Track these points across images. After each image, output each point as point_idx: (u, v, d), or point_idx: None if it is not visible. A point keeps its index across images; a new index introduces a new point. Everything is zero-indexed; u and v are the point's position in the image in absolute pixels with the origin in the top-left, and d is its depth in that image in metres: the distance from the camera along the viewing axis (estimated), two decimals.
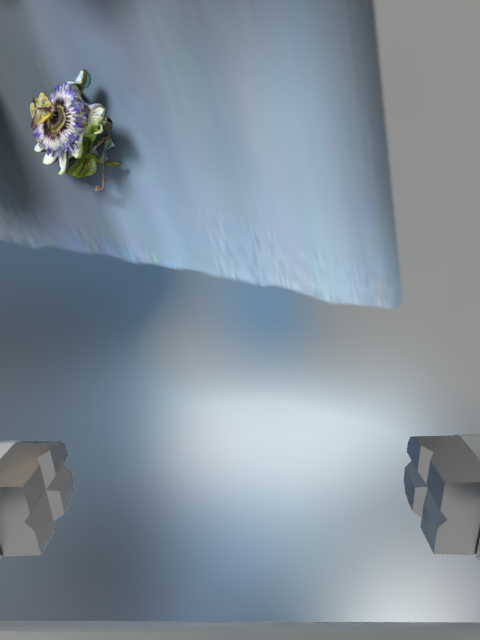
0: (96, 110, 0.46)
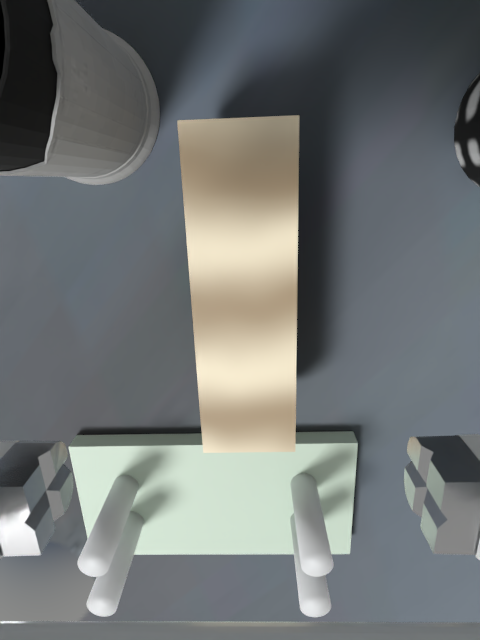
0: None
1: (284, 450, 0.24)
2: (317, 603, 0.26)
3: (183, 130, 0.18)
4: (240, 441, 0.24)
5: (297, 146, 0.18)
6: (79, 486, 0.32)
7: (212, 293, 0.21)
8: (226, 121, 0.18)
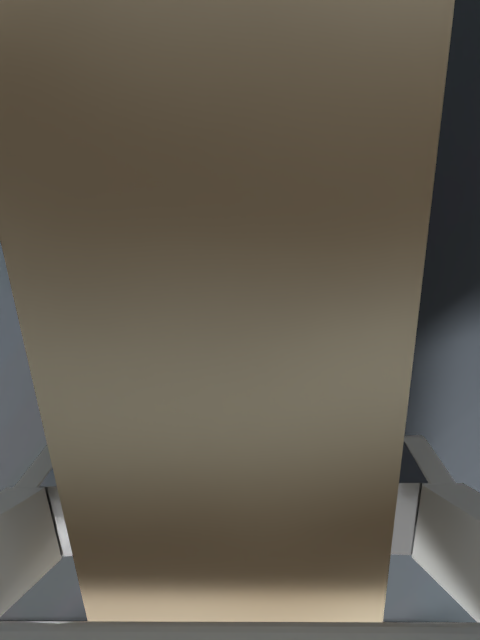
0: None
1: None
2: None
3: None
4: None
5: (443, 37, 0.04)
6: None
7: (133, 527, 0.07)
8: None
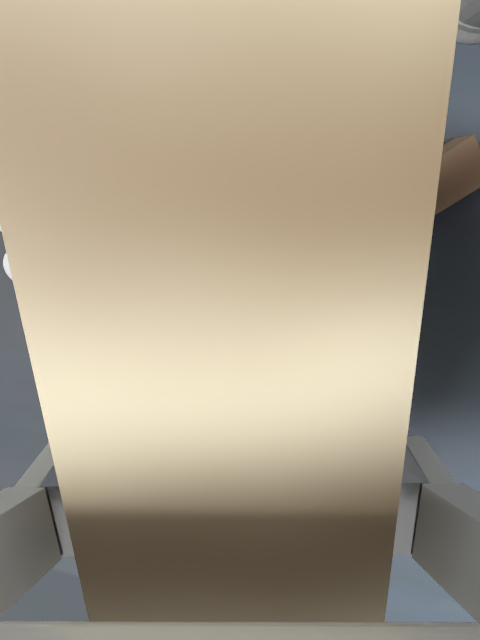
0: None
1: None
2: None
3: None
4: None
5: (449, 35, 0.04)
6: None
7: (134, 526, 0.07)
8: None
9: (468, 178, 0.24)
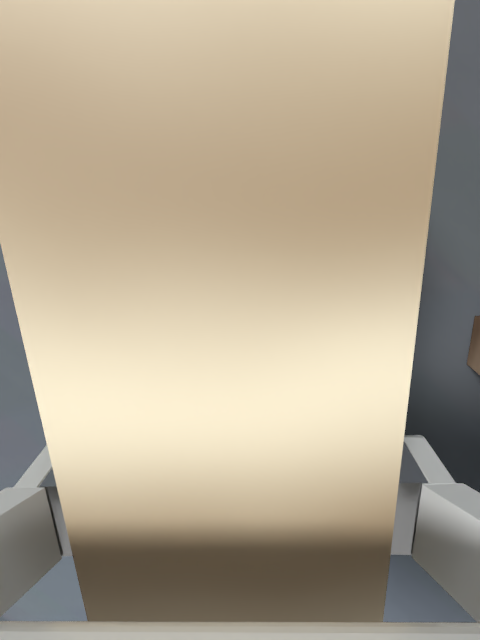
0: None
1: None
2: None
3: None
4: None
5: (443, 40, 0.04)
6: None
7: (132, 529, 0.07)
8: None
9: None
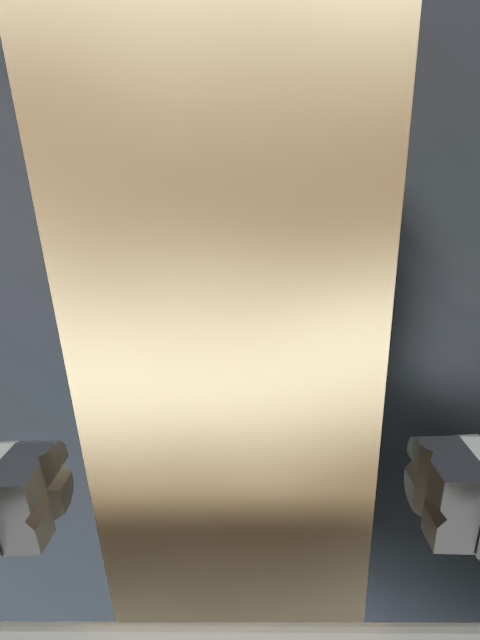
0: None
1: None
2: None
3: (13, 6, 0.05)
4: None
5: (410, 63, 0.05)
6: None
7: (147, 486, 0.08)
8: None
9: None
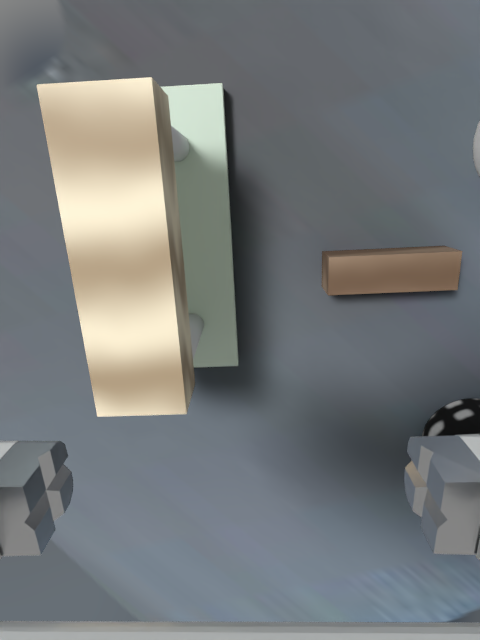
0: None
1: (175, 412, 0.24)
2: None
3: (43, 94, 0.19)
4: (132, 404, 0.24)
5: (153, 108, 0.19)
6: (170, 89, 0.29)
7: (89, 255, 0.21)
8: (83, 84, 0.19)
9: (442, 279, 0.31)
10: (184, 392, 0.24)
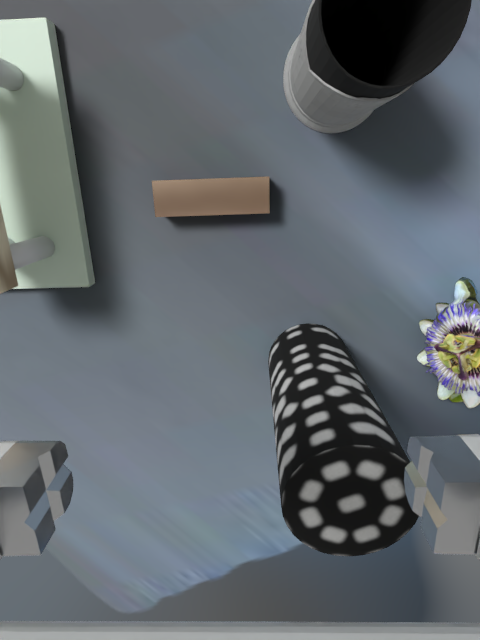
0: None
1: None
2: None
3: None
4: None
5: None
6: (0, 23, 0.32)
7: None
8: None
9: (255, 203, 0.35)
10: None
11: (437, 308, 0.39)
